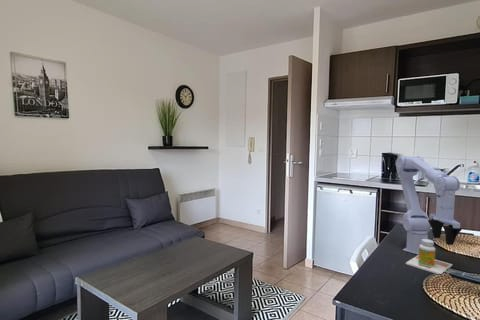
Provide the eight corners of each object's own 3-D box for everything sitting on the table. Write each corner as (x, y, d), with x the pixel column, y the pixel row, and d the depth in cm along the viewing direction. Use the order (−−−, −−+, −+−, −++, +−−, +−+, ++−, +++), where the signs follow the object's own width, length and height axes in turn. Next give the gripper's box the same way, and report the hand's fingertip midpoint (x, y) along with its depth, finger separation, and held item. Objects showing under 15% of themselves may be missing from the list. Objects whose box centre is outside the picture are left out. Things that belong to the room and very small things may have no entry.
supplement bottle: (418, 265, 111) (420, 241, 110) (417, 260, 116) (419, 237, 115) (435, 268, 108) (436, 243, 108) (433, 263, 113) (435, 239, 113)
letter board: (418, 256, 122) (418, 254, 122) (452, 265, 113) (452, 264, 113) (405, 264, 114) (405, 262, 114) (440, 275, 104) (440, 273, 104)
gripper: (423, 202, 118) (421, 234, 119) (447, 211, 103) (444, 247, 104) (440, 203, 117) (438, 235, 118) (467, 211, 103) (464, 248, 104)
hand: (442, 241), depth 111 cm, fingers open, 7 cm apart
